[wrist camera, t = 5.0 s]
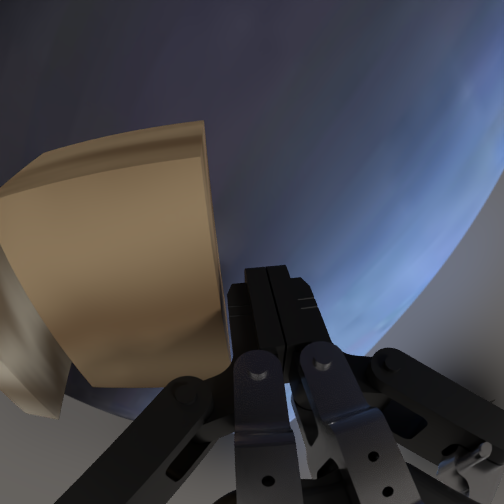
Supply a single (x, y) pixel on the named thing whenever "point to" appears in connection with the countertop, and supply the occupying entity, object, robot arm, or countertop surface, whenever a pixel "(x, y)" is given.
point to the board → (28, 352)
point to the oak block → (123, 255)
